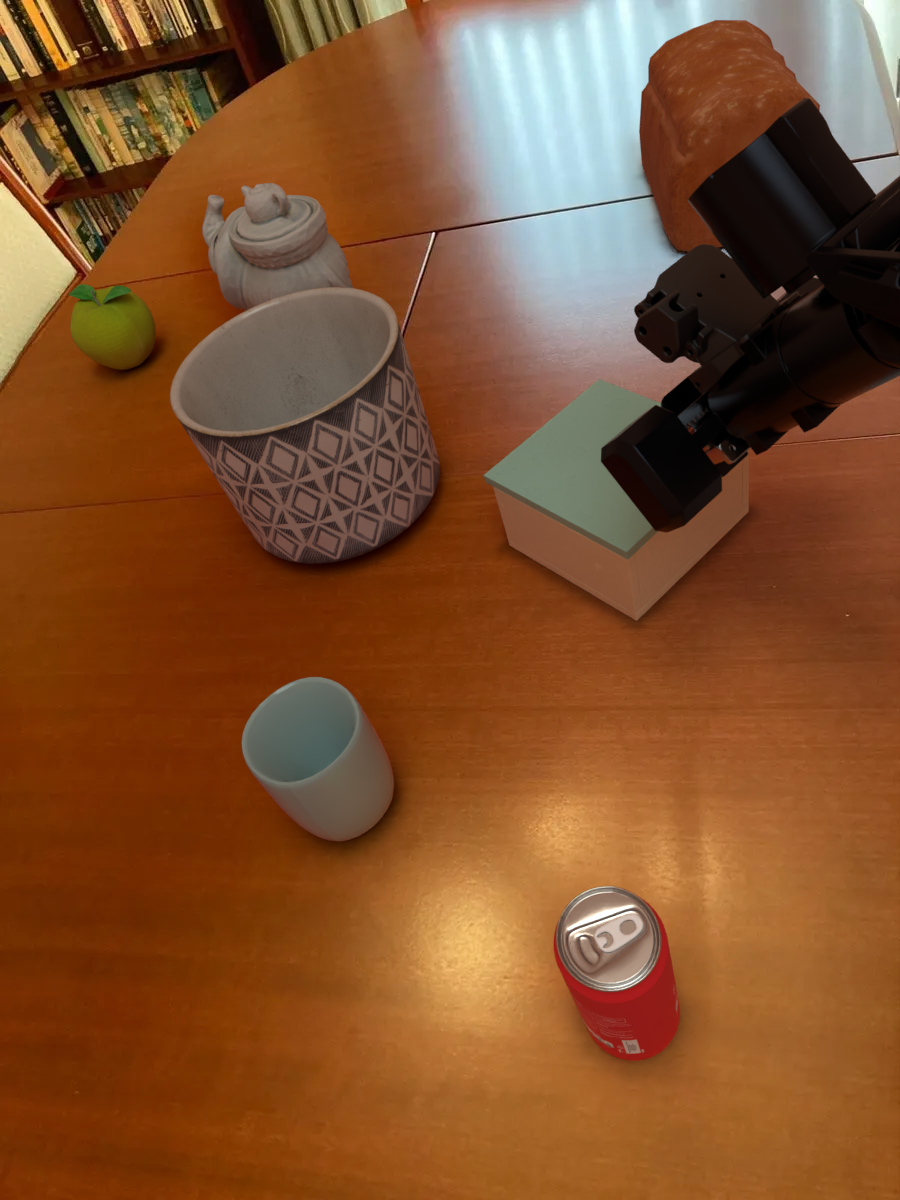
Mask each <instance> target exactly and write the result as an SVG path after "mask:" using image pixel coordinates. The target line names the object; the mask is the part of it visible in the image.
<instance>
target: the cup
mask: <svg viewBox="0 0 900 1200" xmlns="http://www.w3.org/2000/svg"><path fill="white" fill-rule="evenodd" d="M240 745H241V753H242V756H243V759H244V761H245V763H246V766H247V768H248V770H249V771H250V772H251V774H252V775H253V777H254V778H255V779H256V781H257V782H258V783H259V785H260V786H261V787H262V788H263V790H265V791H264V792H266V793H267V794H268V795H269V796H270V798H271V799H272V800H273V801H274V802H275V803H276V804H277V806H278V807H279V808H280V809H281V810H282V811H283V812H284V813H285V814H286V815H287V816H288V817H289V818H290V819H292V821H294V823H295V824H297V825H298V826H299V827H301V829H303V830H304V831H307V832H308V833H310V834H311V835H313V836H315V837H317V838H320V839H323V840H326V841H329V842H344V841H345V842H346V841H349V840H353V839H356V838H359V837H360V836H362V835H364V834H366V833H367V832H369V831H370V830H371V829H372V828H373V827H375V826H376V825H377V824H378V823H379V822H380V821H381V820H382V819H383V817H384V815H385V814H386V812H388V809H389V807H390V806H391V803H392V800H393V797H394V792H395V777H394V771H393V768H392V763H391V761H390V758H389V755H388V752H387V749H386V748H385V746H384V743H383V742H382V740H381V739H380V736H379V734H378V733H377V730H376V729H375V726H374V725H373V723H372V722H371V720H370V718H369V716H368V714H367V713H366V711H365V710H364V707H363V706H362V705H361V703H360V702H359V700H358V699H357V698H356V696H355V695H354V694H353V693H352V692H351V691H350V690H349V689H348V688H346V687H345V686H344V685H343V684H341V683H339V682H337V681H335V680H333V679H331V678H327V677H322V676H309V677H303V678H299V679H296V680H294V681H291V682H289V683H287V684H284V685H282V686H281V687H280V688H277V689H276V690H275V691H274V692H272V693H271V694H270V695H268V696H267V697H266V698H265V699H264V700H263V701H261V703H260V704H259V705H257V707H256V708H255V710H254V711H253V712H252V713H251V714H250V717H249V718H248V720H247V722H246V723H245V726H244V728H243V732H242V735H241V744H240Z"/></svg>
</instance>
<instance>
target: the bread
mask: <svg viewBox="0 0 900 1200" xmlns="http://www.w3.org/2000/svg"><path fill="white" fill-rule="evenodd" d="M647 69H648V72H647V73H648V74H647V75H648V77H647V78H648V80H647V81H648V82H647V84H645V87H644V88H643V89H642V91H641V93H640V94H641V95H640V96H641V97H640V109H639V110H640V111H639V112H640V114H639V115H640V116H639V130H638V134H639V146H640V158H641V167H642V169H643V172H644V175H645V178H646V180H647V183H648V185H649V188H650V191H651V194H652V196H653V199H654V202H655V205H656V208H657V210H658V213H659V217H660V220H661V224H662V227H663V230H664V232H665V235H666V237H667V238H668V240H669V241H670V243H671V244H672V245H673V246H674V248H675V249H676V250H677V251H682V252H687V253H688V252H689V251H691V250H692V249H693V248H695V247H696V246H698V245H702V244H708V245H712V246H715V247H717V248H718V249H719V248H723V246H722V245H721V244H720V242H719V241H718V240H717V238H716V237H715V236H714V234H713V233H712V232H711V231H710V229H709V228H708V227H707V225H706V224H705V223H704V221H703V220H702V219H701V217H700V216H699V215H698V214H697V212H696V211H695V210H694V208H693V207H692V206H691V204H690V203H689V202H688V199H689V197H690V196H691V195H692V193H693V192H694V191H695V190H696V189H697V188H698V187H699V186H700V185H701V184H702V183H703V182H704V181H705V180H706V179H707V178H708V177H709V176H710V175H711V174H712V173H713V172H715V171H716V170H717V169H719V168H720V167H721V166H722V165H724V164H725V163H726V162H728V161H729V160H730V159H732V158H733V157H734V156H735V155H737V154H738V153H739V152H741V151H742V150H743V149H745V148H746V147H747V146H748V145H750V144H751V143H752V142H753V141H754V140H756V139H757V138H758V137H759V136H760V135H761V134H763V133H764V132H765V131H766V130H767V129H768V128H769V127H770V126H771V125H772V124H773V123H774V122H775V121H776V120H777V119H778V118H779V117H780V116H781V115H782V114H784V113H785V112H786V111H788V110H789V109H790V108H792V107H793V106H794V105H795V104H797V103H798V102H799V101H801V100H802V99H803V98H810V99H811V100H812V102H813V103H814V104H815V106H816V107H817V108H818V110H819V111H820V110H821V109H820V108H821V104H820V102H818V101H817V100H816V99H815V98H814V97H813V96H812V95H811V94H810V93H809V92H808V90H806V89H805V88H804V86H802V85H801V84H800V82H798V80H797V76H796V73H795V72H794V71H792V70H791V69H790V68H789V67H788V66H787V64H786V61H785V57H784V55H782V53H780V52H778V51H777V50H776V49H775V47H774V45H773V41H772V38H771V37H770V36H769V34H768V33H766V32H765V31H764V30H763V29H761V28H760V27H758V26H757V25H754V24H753V23H752V22H750V21H748V20H746V19H736V20H735V19H714V20H712V21H709V22H707V23H704V24H701V25H698V26H695V27H693V28H690V29H689V30H686V31H684V32H682V33H680V34H678V35H676V36H674V37H672V38H670V39H668V40H666V41H665V42H664V43H663V44H662V45H661V46H660V47H659V48H658V49H657V50H656V51H655V52H654V53H653V54H652V55H651V56H650V57H649V60H648V65H647ZM820 112H821V111H820Z"/></svg>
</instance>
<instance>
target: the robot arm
mask: <svg viewBox="0 0 900 1200" xmlns="http://www.w3.org/2000/svg"><path fill="white" fill-rule="evenodd" d="M688 202H689V203H690V204H691V206H692V207H693V208H694V210H695V211H696V212H697V214H698V215H699V216H700V217H701V219H702V220H703V221H704V223H705V224H706V225H707V227H708V228H709V229H710V231H711V232H712V233H713V234H714V236H715V237H716V238H717V240H718V241H719V242H720V244H721V245H722V246H723V247H722V248H723V249H724V250H725V252H726V253H725V252H724V251H723V250H721V249H719V247H718V248H717V247H715V246H712V245H708V244H702V245H698V246H696V247H695V248H693V249H692V250H691V251H689V252H688V251H687V253H686V254H684V255H683V256H681V257H680V258H679V259H677V261H675V262H674V263H672V264H671V265H669V267H668V268H666V269H665V270H664V271H662V272H661V273H660V274H659V275H658V277H657V278H656V282H655V285H654V287H652V288H651V289H650V290H648V291H647V293H646V296H645V298H643V300H641V301H640V302H638V303H637V304H636V305H635V306H634V307H633V311H634V314H635V316H636V318H637V320H636V323H635V326H634V329H633V331H634V332H633V333H634V336H635V339H636V341H637V343H639V344H640V345H641V346H643V347H644V349H646V350H648V351H649V352H650V353H651V354H652V355H654V356H655V357H656V358H657V359H659V360H660V361H662V362H663V363H665V364H672V363H674V362H675V361H677V360H678V359H679V358H686V359H687V360H688V361H690V362H693V363H695V364H699V366H698V367H697V368H696V369H695V370H694V371H693V372H692V373H690V374H689V375H688V376H686V377H685V378H684V379H683V380H681V382H679V383H678V384H677V385H676V386H674V387H673V388H672V389H671V390H670V391H669V392H668V393H666V394H665V395H664V396H663V397H662V399H661V400H660V401H661V402H660V403H661V407H660V406H657V405H655V406H653V407H652V408H650V409H649V410H647V411H646V412H645V413H643V414H642V415H641V416H639V417H638V418H637V419H636V420H634V421H633V422H632V423H630V424H629V425H628V426H627V427H626V428H625V429H623V430H622V431H621V432H620V433H619V434H617V435H616V436H615V437H614V438H613V439H612V440H610V441H609V442H608V443H607V444H606V445H604V446H603V447H602V448H601V462H602V464H603V465H604V466H605V467H606V469H607V470H608V471H609V473H610V474H611V475H612V476H613V478H614V479H615V480H616V482H617V483H618V484H619V485H620V487H621V488H622V489H623V490H624V492H625V493H626V494H627V496H628V497H629V498H630V499H631V501H632V502H633V503H634V505H635V506H636V507H637V508H638V510H639V511H640V512H641V513H642V515H643V516H644V517H645V519H646V520H647V521H648V522H649V524H650V525H651V526H652V528H653V529H654V530H655V531H660V532H666V533H668V532H670V531H673V530H675V529H678V528H680V527H683V526H685V525H686V524H687V523H688V522H689V521H690V520H691V519H692V518H693V517H695V516H696V515H697V514H698V513H699V512H700V511H701V510H702V509H703V508H704V507H705V506H706V505H707V504H709V503H710V502H711V501H712V500H713V499H714V498H715V497H716V496H717V495H718V494H719V493H720V492H722V477H724V476H725V475H726V474H728V473H729V472H730V471H731V470H732V469H733V468H734V467H735V466H736V465H737V464H738V463H740V462H741V461H742V460H743V459H744V458H745V457H746V456H747V455H748V452H747V451H748V450H749V451H750V449H751V450H752V451H753V453H754V454H755V456H759V455H760V454H762V453H765V452H767V451H769V449H771V448H772V447H773V446H774V445H775V444H776V443H777V442H778V441H779V440H781V438H783V437H784V436H785V435H786V434H787V433H788V432H789V431H790V430H793V429H794V428H796V427H799V428H800V429H801V431H802V432H803V433H807V432H809V431H811V430H813V429H815V428H817V427H819V426H820V425H822V423H823V422H824V421H825V420H826V419H827V418H828V417H830V415H831V414H833V413H834V412H835V411H836V410H837V409H838V408H839V407H840V406H841V405H843V404H846V403H847V402H849V401H851V400H854V399H855V398H858V397H859V396H861V395H864V394H865V393H867V392H870V391H871V390H874V389H875V388H879V387H880V386H882V385H884V384H886V383H888V382H890V381H892V380H894V379H896V378H898V377H900V175H898V176H897V177H896V178H895V179H894V180H892V181H891V182H890V183H889V184H888V185H886V187H884V188H883V189H881V190H880V191H879V192H878V193H875V191H874V189H873V188H872V187H871V186H870V184H869V183H868V182H867V180H866V179H865V177H863V175H862V174H861V172H860V170H859V169H858V168H857V166H856V165H855V164H854V163H853V162H852V160H851V159H850V158H849V155H847V153H846V152H845V150H844V149H843V147H841V145H840V144H839V143H838V141H837V140H836V138H835V137H834V135H833V134H832V131H831V128H830V126H829V124H828V121H827V120H826V118H825V117H824V115H823V114H822V112H821V111H819V110H818V108H817V107H816V106H815V104H814V103H813V102H812V100H811V99H810V98H803V99H802V100H801V101H799V102H798V103H797V104H795V105H794V106H793V107H792V108H790V109H789V110H788V111H786V112H785V113H784V114H782V115H781V116H780V117H779V118H778V119H777V120H776V121H775V122H774V123H773V124H772V125H771V126H770V127H769V128H768V129H767V130H766V131H765V132H764V133H763V134H761V135H760V136H759V137H758V138H757V139H756V140H754V141H753V142H752V143H751V144H750V145H748V146H747V147H746V148H745V149H743V150H742V151H741V152H739V153H738V154H737V155H735V156H734V157H733V158H732V159H730V160H729V161H728V162H726V163H725V164H724V165H722V166H721V167H720V168H719V169H717V170H716V171H715V172H713V173H712V174H711V175H710V176H709V177H708V178H707V179H706V180H705V181H704V182H703V183H702V184H701V185H700V186H699V187H698V188H697V189H696V190H695V191H694V192H693V193H692V195H691V196H690V197H689V199H688ZM780 288H782V289H783V290H784V291H785V292H784V293H782V295H780V296H779V297H778V298H777V299H776V298H775V297H774V296H773V295H772V294H773V293H774V292H776V291H778V290H779V289H780Z"/></svg>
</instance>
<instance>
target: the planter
mask: <svg viewBox="0 0 900 1200" xmlns="http://www.w3.org/2000/svg"><path fill="white" fill-rule="evenodd" d="M399 323H400V322H399V319H398V317H397V314H396V312H395V310H394V308H393V307H392V306H391V304H389V302H387V301H386V300H385V299H384V298H382V297H380V296H379V295H377V294H374V293H372V292H369V291H366V290H363V289H359V288H355V287H353V288H344V287H329V288H317V289H310V290H305V291H300V292H295V293H292V294H288V295H284V296H281V297H278V298H275V299H272V300H270V301H267V302H264V303H262V304H260V305H257V306H255V307H253V308H251V309H249V310H247V311H246V310H244V311H242V312H241V313H239V314H237V315H236V316H233V317H232V318H230V319H229V320H227V321H225V322H224V323H223V324H221V325H219V326H218V327H217V328H215V329H214V330H213V331H212V332H210V333H209V334H208V335H207V336H205V337H204V338H203V339H202V340H201V341H200V342H199V343H197V345H196V346H195V347H193V348H192V349H191V351H189V353H188V354H187V356H186V357H185V358H184V359H183V361H182V362H181V363H180V365H179V367H178V369H177V371H176V372H175V374H174V377H173V379H172V381H171V385H170V391H169V403H170V406H171V410H172V411H173V413H174V415H175V417H176V418H177V420H178V421H179V423H180V424H181V426H182V428H183V429H184V430H185V432H186V434H187V435H188V437H189V438H190V441H192V443H193V444H194V446H195V448H196V450H197V451H198V452H199V454H200V456H201V457H202V459H203V461H204V462H205V464H206V465H207V467H208V468H209V470H210V471H211V473H212V474H213V476H214V478H215V479H216V480H217V482H218V484H219V485H220V487H221V489H222V490H223V492H224V493H225V495H226V496H227V497H228V499H229V501H230V503H231V504H232V505H233V507H234V509H235V510H236V512H237V513H238V515H239V517H240V518H241V520H242V521H243V524H244V525H245V526H246V528H247V529H248V530H249V532H250V534H251V535H252V537H253V538H254V540H255V541H256V543H258V544H259V546H261V547H262V548H263V549H264V550H265V551H266V552H268V553H270V554H271V555H273V556H275V557H277V558H279V559H282V560H284V561H288V562H292V563H297V564H303V565H304V564H305V565H324V564H332V563H337V562H343V561H346V560H351V559H354V558H357V557H360V556H363V555H365V554H368V553H370V552H372V551H374V550H376V549H378V548H381V547H382V546H385V545H386V544H387V543H389V542H391V541H392V540H394V539H396V538H397V537H398V536H400V535H401V534H403V532H405V531H406V530H408V528H410V527H411V526H412V525H413V524H414V523H415V522H416V521H417V520H418V519H419V517H420V516H421V515H423V513H424V512H425V510H426V509H427V507H428V506H429V504H430V503H431V501H432V499H433V497H434V495H435V493H436V490H437V487H438V484H439V480H440V475H441V464H440V463H441V462H440V458H439V454H438V450H437V447H436V443H435V440H434V438H433V433H432V430H431V427H430V422H429V420H428V416H427V414H426V410H425V407H424V404H423V400H422V397H421V394H420V390H419V386H418V384H417V380H416V377H415V373H414V370H413V366H412V364H411V360H410V356H409V353H408V351H407V347H406V343H405V341H404V340H405V339H404V337H403V334H402V331H401V327H400V324H399Z"/></svg>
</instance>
